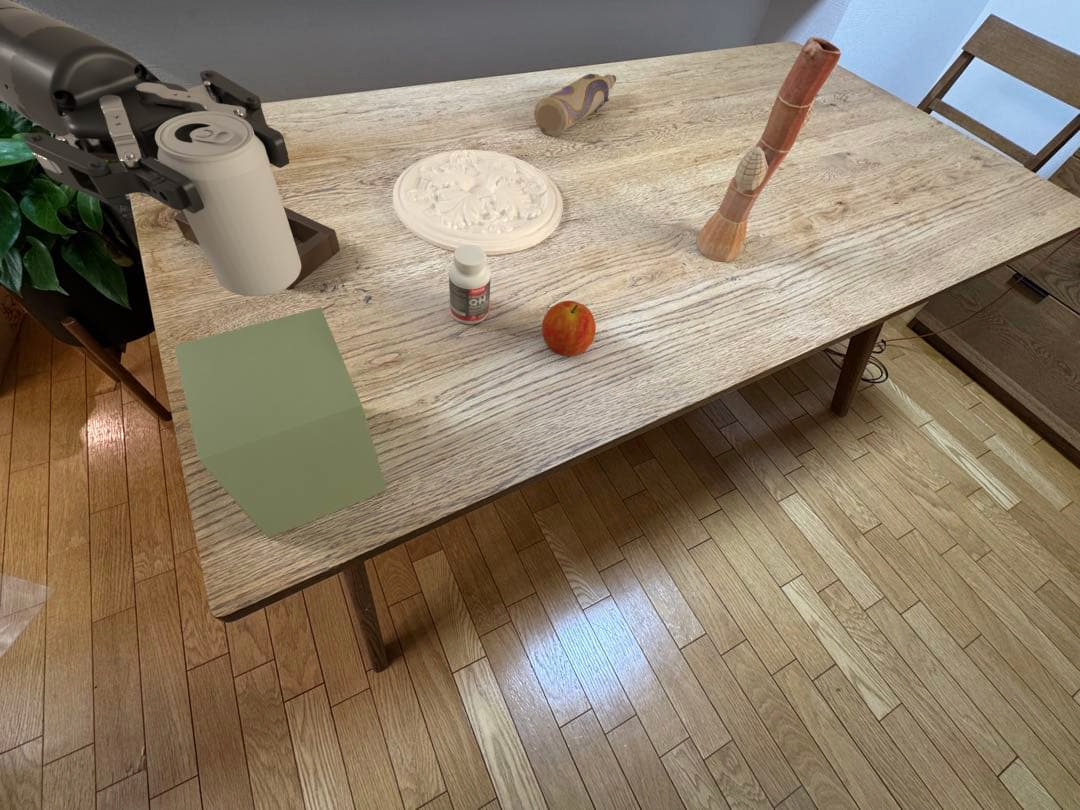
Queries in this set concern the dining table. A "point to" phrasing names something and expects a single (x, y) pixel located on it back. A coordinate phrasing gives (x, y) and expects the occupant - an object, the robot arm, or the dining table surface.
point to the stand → (279, 420)
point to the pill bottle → (469, 285)
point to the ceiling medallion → (477, 201)
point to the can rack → (314, 234)
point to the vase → (768, 149)
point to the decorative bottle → (572, 103)
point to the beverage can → (232, 201)
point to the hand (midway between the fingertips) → (241, 174)
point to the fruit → (568, 328)
